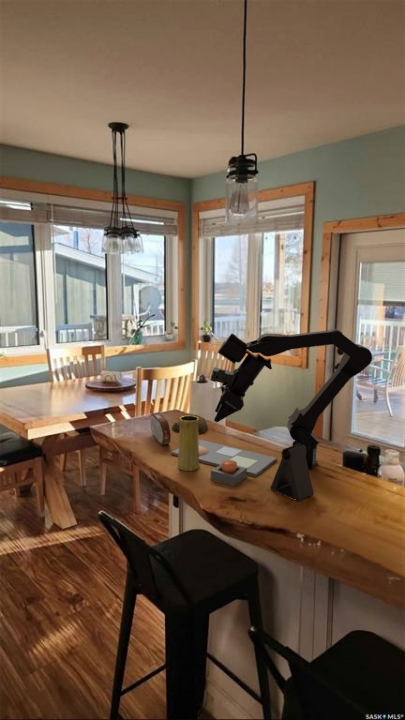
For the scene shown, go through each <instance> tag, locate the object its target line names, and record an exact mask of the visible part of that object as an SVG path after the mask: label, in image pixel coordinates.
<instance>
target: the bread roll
mask: <svg viewBox="0 0 405 720" xmlns="http://www.w3.org/2000/svg"><path fill="white" fill-rule="evenodd" d="M186 416H196V417H198V419H199V430H198V434H201V433H205V432H206V431H207V430H208V427H209V426H208V424H207V423H208V422H207V421H206V419H205V418H204V417H202V416H200V415H197V414H189V415H188V414H187V415H186ZM171 430H172V431H175V432H179V430H180V419H178V420H177V421H176V422H174V423H173V424H172V426H171Z"/></svg>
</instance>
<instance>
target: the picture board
mask: <svg viewBox="0 0 405 720" xmlns="http://www.w3.org/2000/svg"><path fill="white" fill-rule="evenodd" d="M198 443H199V463H203V464H206V465H210V466H215V467H217V466H219V465H221V464H222V461H224V460H233V461H235V462H237V466H241V467H245V468H247V475H248V476H253V477H257V476H259V475H260V474H261V473H263V472H264V471H265V470H266V469H268V468H269V467H270V466H271V465H273V464H274V463H275V462H277V461H278V458H277V457H275V456H272V455H271V456H270V455H267V454H262V453H259V452H253V451H249V450H245V449H242V448H236V447H231V446H228V445H223V444H220V443H217V442H216V443H215V442H211V441H207V440H203V439H199V438H198ZM178 453H179V447H178V448H176V449H174V450H172V451H171V452H170V454H171V455H174V456H176V457H178Z"/></svg>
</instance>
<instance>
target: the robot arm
mask: <svg viewBox="0 0 405 720" xmlns="http://www.w3.org/2000/svg"><path fill="white" fill-rule="evenodd" d="M330 345H333V346H335V348H337V349H338V350H340V351H341V352H342V353H343V355H342V356H341V358H340V361H339V363H338V367H337V368H336V370H335V371H334V372H333V374H332V375H331V376H330V377H329V378H328V380H327V381H326V382H325V383H324V384H323V386H322V387H321V388H320V390H318V392H317V393H316V395H314V397H313V398H312V400H310V402H309V403H308V405H306V406H305V407H304V408H302V409H300V408H299V407H295V409H294V411H293V413H292V414H291V415H290V416H288V417H287V418H288V421H287V424H286V425H287V430H288V433H289V435H290V437H291V439H292V440H293V442H292V444H291V446H294V445H297V444H301V445H303V444H304V445H305V447H306V460H307V465H308V469H309V470H312V469H313V468H314V467H315V466H316V465H317V464H318V463H319V462H318V460H317V451H318V450H317V448H318V444H319V441H318V439H317V438H316V436H315V434H314V433H313V431H315V427H316V425H317V422H318V420H319V418H320V416H321V415H322V414H323V412H324V411H326V409H327V408H328V406H330V404H331V402H333V400H334V399H335V398H336V397H337V395H338V394H339V393H340V392H341V391H342V389H343V388H344V387H345V386H346V384H347V383H348V382H349V381H350V380H351V379H352V378H353V377H355V376H357V375H358V374H360V373H361V372H363V371H364V370H365V369H366V368H367V367H368V366H370V364H371V363H372V362H373V361H372V360H373V354H372V352H371V350H370V349H369V348H367V347H365V346H363V345H361V344H358V343H355V342H353V341H352V340H351V339H350V338H348V337H347V336H346V335H345V334H343V332H342V331H340V330H339V329H336V328H330V329H329V330H320V331H312V332H303V333H295V334H280V333H268V332H267V333H262V334H261V335H259V337H258V338H257V339H255V340H252V341H248V342H244V340H243V339H240V338H239V337H238V336H237V335H236V334H234V333H233V332H232V333H230V335H228V337H227V338H226V340H224V341H223V342H222V344H221V346H219V347H220V348H219V349H218V350H217V353H218V354H219V355H220V356H222V357H223V358H225V359H227V360H228V361H229V362H231V363H232V364H235V363H237V364H238V363H239V364H240V365H239V366H238V367H237V368H235V369H234V370H233V371H229V370H227V369H223V368H218V367H212V372H211V376H210V381H211V382H213V383H215V382H216V383H217V382H218V383H221V385H220V389H221V390H220V391H221V395H220V397H219V398H220V399H219V401H217V402H218V403H217V405H216V408H215V411H214V412H215V413H216V415H215V416H214V419H213V420H214V422H215V423H219V422H220V421H222V420H224V419H225V418H227V417H229V416H231V415H232V414H235V413H237V412H240V411H241V410H242V409H243V407H244V406H245V402H244V398H245V396H246V392H247V391H248V390H249V388H250V387H252V386H253V385H254V382H255V380H256V379H257V378H258V376H259V375H260V373H261V372H262V371H263V369H264V368H267V369H269V370H272V369H273V367H272V359H271V358H270V357H273V356H277V355H280V354H283V353H285V352H288V351H291V350H295V349H305V348H313V347H314V348H316V347H321V346H322V347H323V346H330ZM260 354H261V355H260ZM245 356H246V357H245ZM244 357H245V358H244ZM265 357H267V358H265ZM268 357H269V358H268ZM299 446H300V445H299Z"/></svg>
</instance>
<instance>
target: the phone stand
mask: <svg viewBox="0 0 405 720" xmlns="http://www.w3.org/2000/svg"><path fill="white" fill-rule="evenodd" d="M299 445H300V446H299ZM272 480H273V481H272V483H271V485H270V487H269V488H270V490H271V491H274V492H276V491H277V492H276V493H278V492H279V493H278V494H280V493H281V494H280V495H283V496H285V495H286V496H285V497H287V496H288V497H287V498H289V497H291V498H293V499H292V500H294V499H296V500H298V501H297V502H301V501H302V500H305V499H307V498H309V497H311V496H313V495H314V494H315V492H314V487H313V483H312V478H311V474H310V469H308V465H307V460H306V447H305V445H304V444H303V445H301V444H297V445H294V446H292V445H291V446H288V447H285V448H283V449H282V451H281V460H280V462H279V465H278V468H277V470H276V472H275V476H274V477H273V479H272ZM308 496H309V497H308ZM306 497H307V498H306ZM291 498H290V499H291ZM304 498H305V499H304ZM296 500H295V501H296Z"/></svg>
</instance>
